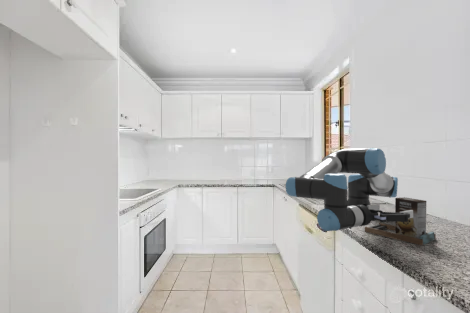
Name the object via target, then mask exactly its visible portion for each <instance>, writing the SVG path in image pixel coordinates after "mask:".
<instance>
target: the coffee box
mask: <svg viewBox="0 0 470 313" xmlns="http://www.w3.org/2000/svg"><path fill="white" fill-rule="evenodd" d="M394 200H395V201H394V202H395V205H394V206H395V207H394V208H395V209H394V210H395V213H400V212H402V211H409V210H413V218H409V219H408V222H394V223H395V224H394V226H395V231H394V233H396V234H401V235H405V236H410V237H414V238H418V239H420V236H422V235H424V234H426V232H427V200H424V199H417V198H412V197H405V196H404V197H394Z"/></svg>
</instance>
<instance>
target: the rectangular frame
mask: <svg viewBox="0 0 470 313" xmlns="http://www.w3.org/2000/svg"><path fill="white" fill-rule="evenodd" d="M386 230H389V231H386ZM391 231H394V232H391ZM364 232H366V233H369V234H374V235H378V236H381V237H386V238H390V239H394V240H398V241H403V242H406V243H411V244H415V245H418V246H423V245H426V244H428V243H430V242H433V241H434V240H436V239H437V238H436V237H437V234H436V233H435V231H429V232H427V231H426V234H424V235H422V236H420V239H418V238H414V237H410V236H405V235H401V234H396V233H395V225H394V224H392V225H391V224H387V223H385V222H378V224H374V225H371V226H364Z"/></svg>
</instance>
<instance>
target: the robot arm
mask: <svg viewBox="0 0 470 313" xmlns="http://www.w3.org/2000/svg"><path fill="white" fill-rule="evenodd" d="M386 168H387V158H386V155H385V153H384V151H383V150H382V149H381V148H376V147H370V148H343V149H338V150H335V151H332V152H331V153H329V154H327V155H325V156H324V157H323V158H322V160H321V161H320V162H319V163H317V164H316V165H315V166H313V167H312V168H311V169H309V170H308V171H306V172H305V173H303V174H302V175H300V176H299V177H297V176H293V177H289V178H287V180H286V182H285V192H286V194H287V195H288V196H289V197H294V198H300V199H301V198H303V199H311V200H313V199H314V200H322V201H323V206H324V207H323V208H322V209H320V210H319V211H318V214H317V216H316V221H317V223H318V226H319V227H320V229H322V230H324V232H332V231H333V232H334V231H335V232H337V231H342V230H345V229H348V230H352V228H358V227H363V226H364V227H366V226H368V225H369V224H370V223H371V222H372V221H373V222H374V221H379V223H385V222H389V223H390V222H394V223H395V222H408V219H409V218H413V210H409V211H402V212H400V213H395V212H394V211H393V212H391V211H389V212H388V211H383V210H380V203H375V204H373V203H371V201H370V196H372V197H380V198H381V197H382V198H397V196H398V185H399V184H398V181H399V180H398V177H396V176H391V175H389V174H388V173H386V172H385V171H386ZM345 174H350V175H348V177H347V175H345Z"/></svg>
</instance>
